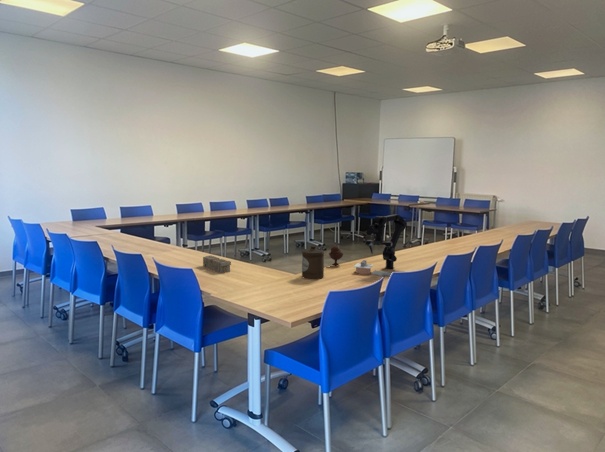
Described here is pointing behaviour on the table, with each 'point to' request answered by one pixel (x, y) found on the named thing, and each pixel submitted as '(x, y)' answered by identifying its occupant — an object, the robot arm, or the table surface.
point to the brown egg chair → (335, 254)
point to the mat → (381, 273)
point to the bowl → (363, 270)
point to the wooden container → (313, 263)
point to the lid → (363, 265)
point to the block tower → (216, 264)
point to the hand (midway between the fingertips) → (378, 254)
